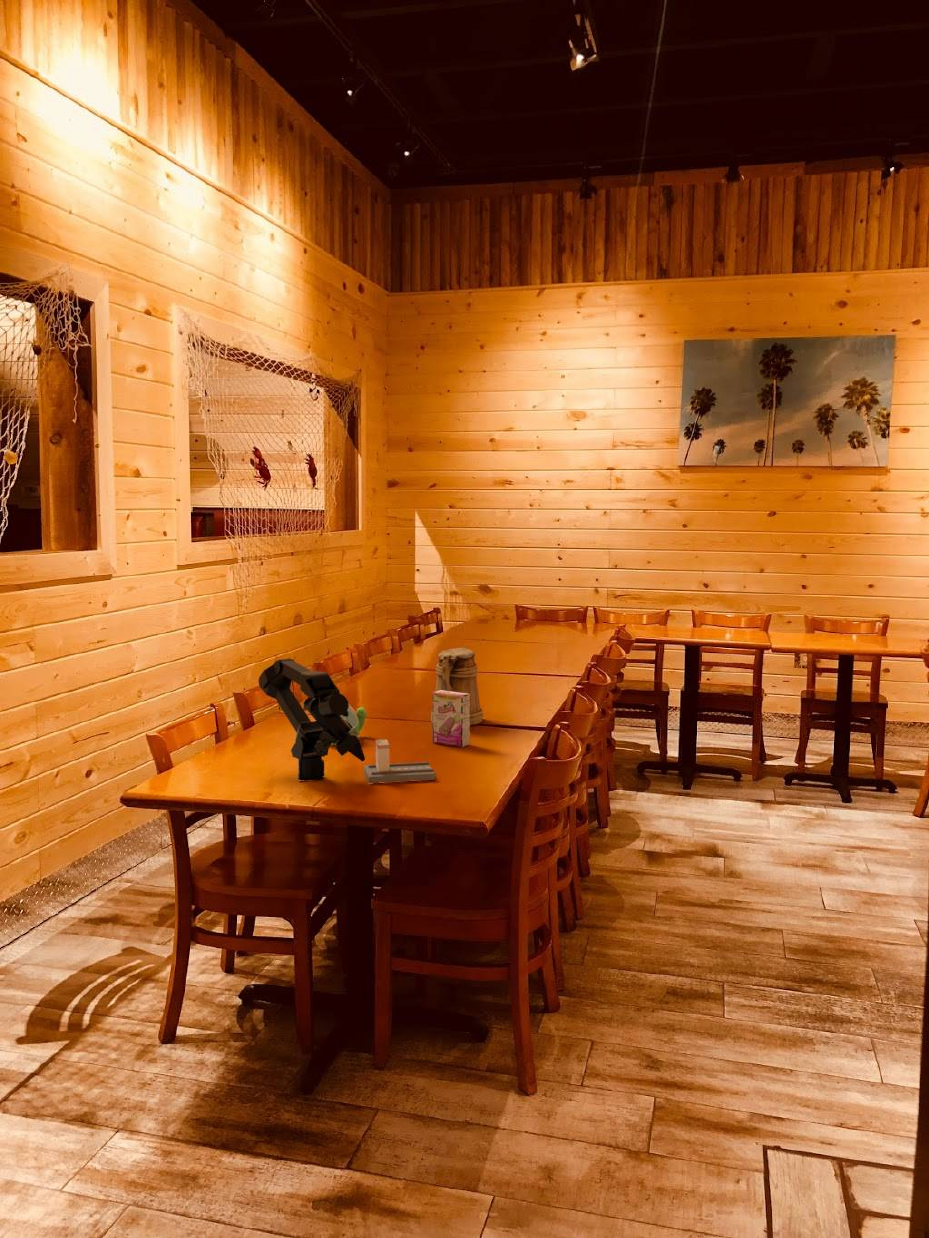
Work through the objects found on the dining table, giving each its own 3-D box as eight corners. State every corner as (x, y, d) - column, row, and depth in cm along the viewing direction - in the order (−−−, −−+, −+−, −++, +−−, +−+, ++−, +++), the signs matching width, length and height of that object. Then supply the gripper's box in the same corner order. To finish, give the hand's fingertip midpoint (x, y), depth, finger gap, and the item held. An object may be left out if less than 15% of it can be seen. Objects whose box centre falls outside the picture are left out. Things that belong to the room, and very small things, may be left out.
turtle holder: (378, 738, 313) (378, 702, 311) (332, 748, 301) (331, 710, 299) (355, 732, 322) (355, 696, 320) (309, 741, 309) (308, 704, 308)
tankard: (488, 717, 344) (488, 647, 342) (472, 732, 322) (472, 657, 319) (438, 714, 349) (438, 645, 346) (420, 729, 326) (419, 655, 323)
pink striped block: (378, 772, 265) (378, 745, 264) (375, 766, 271) (375, 739, 270) (389, 771, 266) (389, 744, 265) (386, 765, 271) (386, 739, 271)
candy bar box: (431, 743, 306) (431, 692, 304) (440, 740, 311) (440, 689, 309) (462, 748, 301) (462, 695, 299) (470, 744, 305) (470, 693, 303)
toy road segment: (368, 784, 262) (368, 774, 261) (364, 772, 273) (364, 763, 273) (434, 780, 265) (434, 771, 265) (427, 768, 277) (427, 759, 277)
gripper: (301, 728, 269) (336, 770, 273) (306, 745, 251) (344, 789, 255) (332, 702, 270) (367, 744, 274) (340, 717, 252) (377, 761, 256)
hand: (363, 760), depth 264 cm, fingers closed
